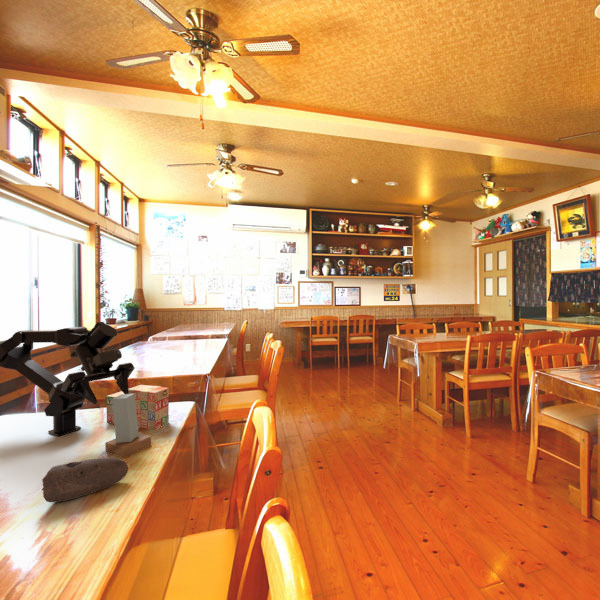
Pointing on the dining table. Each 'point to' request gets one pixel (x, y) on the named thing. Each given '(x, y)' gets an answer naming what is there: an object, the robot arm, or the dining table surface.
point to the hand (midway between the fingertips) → (112, 398)
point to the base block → (128, 446)
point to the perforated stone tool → (82, 478)
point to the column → (125, 418)
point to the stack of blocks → (146, 406)
